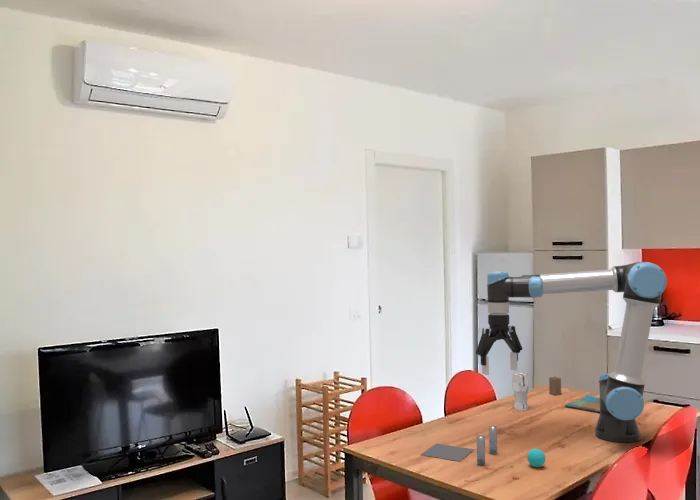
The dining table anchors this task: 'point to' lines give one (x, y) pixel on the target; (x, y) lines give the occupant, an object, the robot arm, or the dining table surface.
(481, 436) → the post
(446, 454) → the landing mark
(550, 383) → the wooden block
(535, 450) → the ball
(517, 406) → the beer glass
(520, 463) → the dining table surface
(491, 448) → the post
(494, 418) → the dining table surface
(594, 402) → the dish towel
